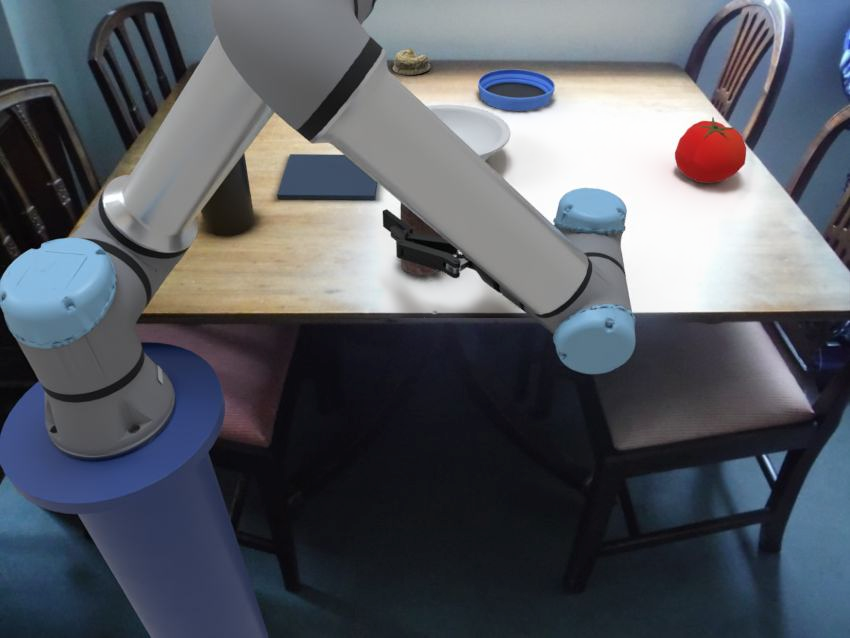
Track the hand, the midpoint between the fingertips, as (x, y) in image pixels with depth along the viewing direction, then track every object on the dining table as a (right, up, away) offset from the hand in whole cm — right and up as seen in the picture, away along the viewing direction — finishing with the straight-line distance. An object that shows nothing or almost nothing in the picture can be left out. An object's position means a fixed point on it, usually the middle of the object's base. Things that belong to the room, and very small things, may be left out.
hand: (421, 203), depth 100 cm
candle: (0, -9, +7) cm, 11 cm away
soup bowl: (+5, +15, +34) cm, 37 cm away
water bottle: (-34, -1, +15) cm, 37 cm away
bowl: (+22, +36, +58) cm, 72 cm away
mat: (-18, +10, +28) cm, 34 cm away
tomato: (+55, +10, +30) cm, 64 cm away
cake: (-3, +47, +72) cm, 86 cm away
